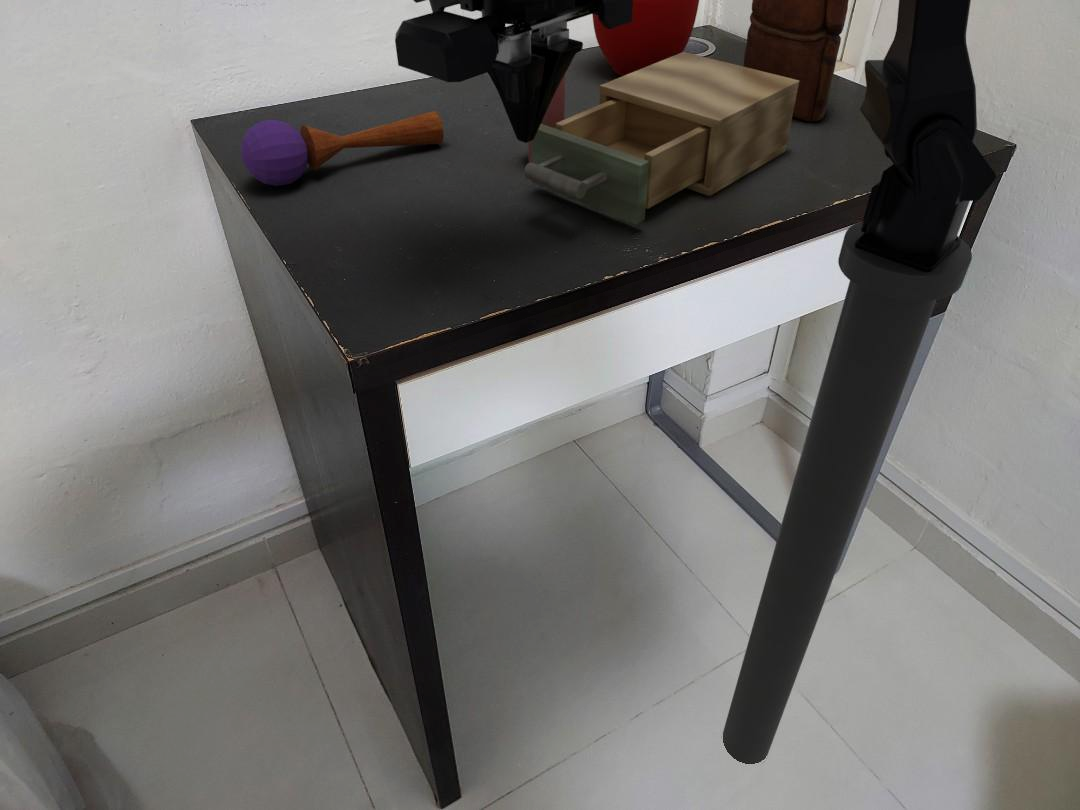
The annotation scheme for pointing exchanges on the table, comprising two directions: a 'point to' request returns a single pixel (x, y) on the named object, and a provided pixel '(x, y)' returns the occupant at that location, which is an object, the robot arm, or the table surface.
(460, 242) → the table surface
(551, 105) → the doll
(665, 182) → the drawer
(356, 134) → the kendama
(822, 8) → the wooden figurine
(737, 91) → the cabinet
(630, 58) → the ceramic cup
